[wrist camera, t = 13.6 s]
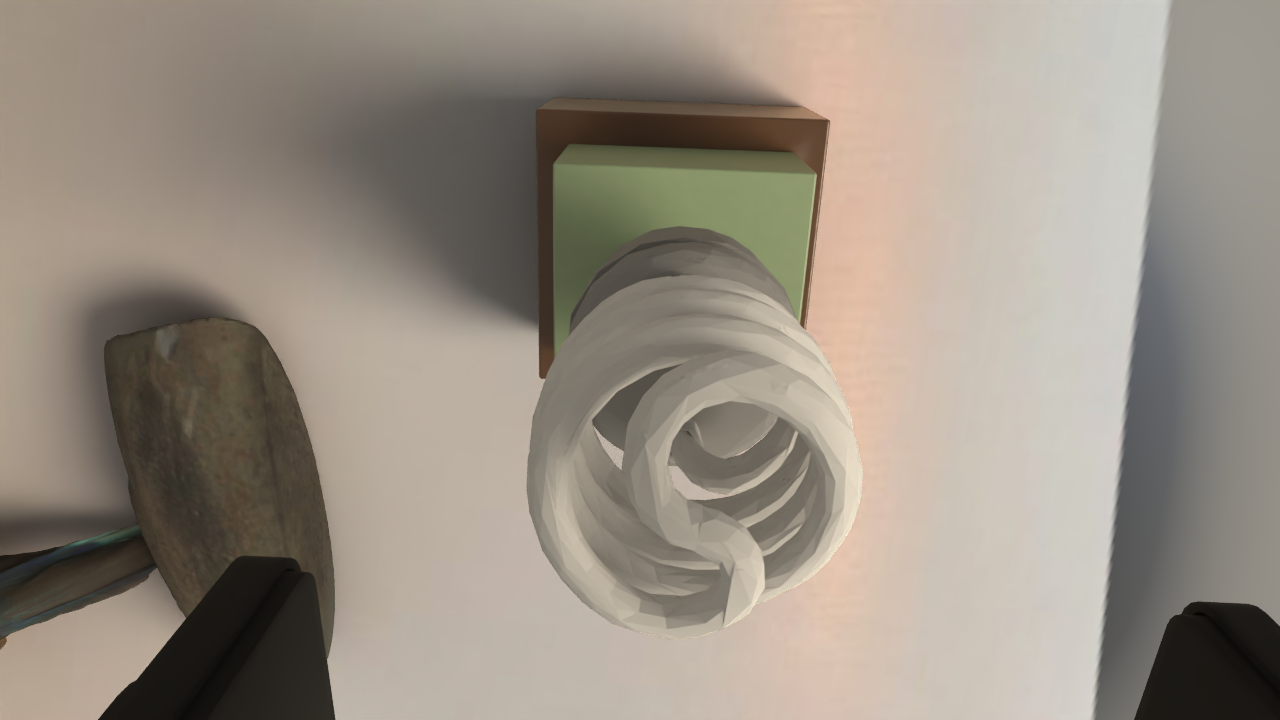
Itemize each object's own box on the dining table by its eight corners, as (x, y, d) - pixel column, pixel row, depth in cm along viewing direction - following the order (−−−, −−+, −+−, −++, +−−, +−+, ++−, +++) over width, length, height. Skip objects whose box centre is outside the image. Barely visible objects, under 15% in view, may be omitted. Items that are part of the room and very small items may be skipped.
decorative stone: (117, 311, 33) (45, 348, 29) (273, 294, 32) (221, 329, 28) (243, 652, 39) (198, 720, 35) (375, 641, 39) (344, 709, 35)
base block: (806, 107, 29) (831, 119, 25) (781, 343, 33) (799, 389, 28) (553, 97, 29) (535, 108, 25) (554, 334, 33) (539, 379, 28)
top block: (794, 152, 25) (817, 172, 22) (773, 362, 28) (790, 412, 24) (568, 143, 25) (552, 162, 22) (567, 353, 28) (553, 403, 24)
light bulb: (786, 374, 24) (897, 678, 13) (595, 396, 24) (540, 708, 13) (772, 179, 22) (891, 338, 11) (563, 206, 22) (465, 386, 11)
